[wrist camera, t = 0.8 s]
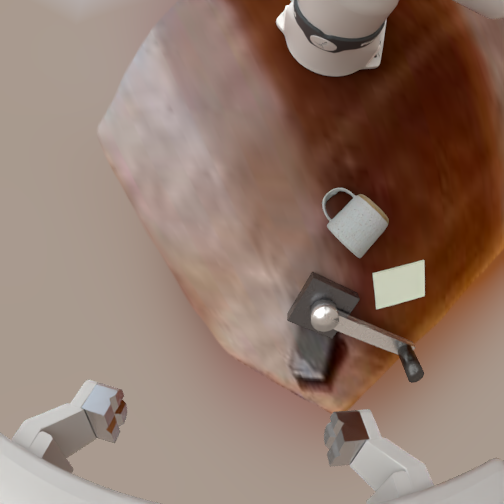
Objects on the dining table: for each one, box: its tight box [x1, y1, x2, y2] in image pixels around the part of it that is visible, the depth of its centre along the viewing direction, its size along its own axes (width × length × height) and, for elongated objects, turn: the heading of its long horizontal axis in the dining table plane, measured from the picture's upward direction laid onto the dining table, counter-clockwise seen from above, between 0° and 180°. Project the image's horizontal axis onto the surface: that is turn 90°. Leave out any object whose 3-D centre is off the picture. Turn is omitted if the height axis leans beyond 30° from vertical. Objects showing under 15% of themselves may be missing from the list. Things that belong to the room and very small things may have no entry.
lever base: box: [287, 272, 360, 338], centre depth 52 cm, size 10×10×2 cm
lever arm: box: [310, 300, 424, 382], centre depth 46 cm, size 24×5×10 cm, turn 66°
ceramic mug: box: [322, 188, 389, 258], centre depth 43 cm, size 11×8×8 cm
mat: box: [372, 260, 425, 309], centre depth 49 cm, size 11×8×1 cm
